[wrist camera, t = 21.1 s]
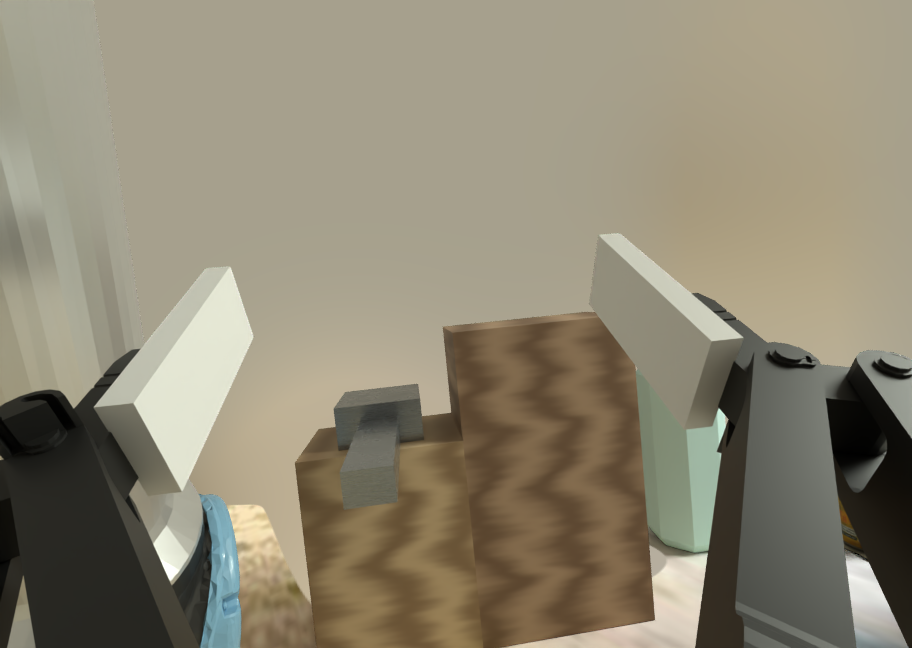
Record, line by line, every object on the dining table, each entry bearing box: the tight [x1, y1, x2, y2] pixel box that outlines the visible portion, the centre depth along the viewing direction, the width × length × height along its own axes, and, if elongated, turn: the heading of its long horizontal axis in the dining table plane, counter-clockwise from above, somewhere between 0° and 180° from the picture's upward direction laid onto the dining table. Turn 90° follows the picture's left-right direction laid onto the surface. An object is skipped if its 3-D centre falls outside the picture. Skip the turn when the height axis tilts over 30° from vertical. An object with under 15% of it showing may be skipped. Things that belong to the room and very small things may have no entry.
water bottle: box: [636, 369, 726, 553], centre depth 58 cm, size 10×10×25 cm
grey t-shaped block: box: [334, 384, 424, 510], centre depth 40 cm, size 8×21×4 cm, turn 6°
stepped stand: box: [295, 312, 655, 648], centre depth 48 cm, size 32×11×30 cm, turn 96°
